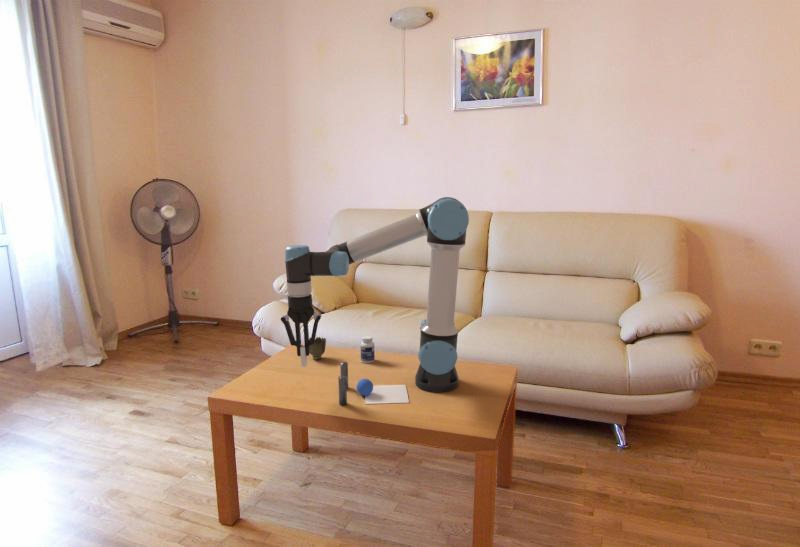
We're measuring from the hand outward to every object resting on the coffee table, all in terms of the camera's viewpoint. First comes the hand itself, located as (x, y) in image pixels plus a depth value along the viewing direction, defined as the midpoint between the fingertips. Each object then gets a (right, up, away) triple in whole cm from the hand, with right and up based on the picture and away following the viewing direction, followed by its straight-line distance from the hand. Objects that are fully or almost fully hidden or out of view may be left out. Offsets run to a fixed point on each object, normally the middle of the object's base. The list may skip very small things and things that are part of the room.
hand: (304, 365), depth 165 cm
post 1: (+12, -9, +9) cm, 18 cm away
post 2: (+13, -12, -3) cm, 18 cm away
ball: (+19, -8, +3) cm, 21 cm away
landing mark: (+27, -10, +4) cm, 29 cm away
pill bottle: (+18, -5, +34) cm, 39 cm away
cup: (-2, -4, +37) cm, 37 cm away
